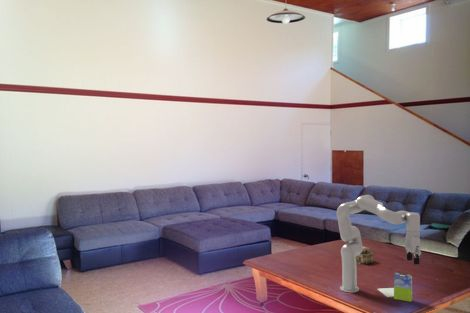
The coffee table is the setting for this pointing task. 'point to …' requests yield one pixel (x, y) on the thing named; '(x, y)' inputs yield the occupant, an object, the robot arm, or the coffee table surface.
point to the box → (402, 287)
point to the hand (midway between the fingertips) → (413, 262)
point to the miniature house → (364, 256)
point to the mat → (387, 291)
